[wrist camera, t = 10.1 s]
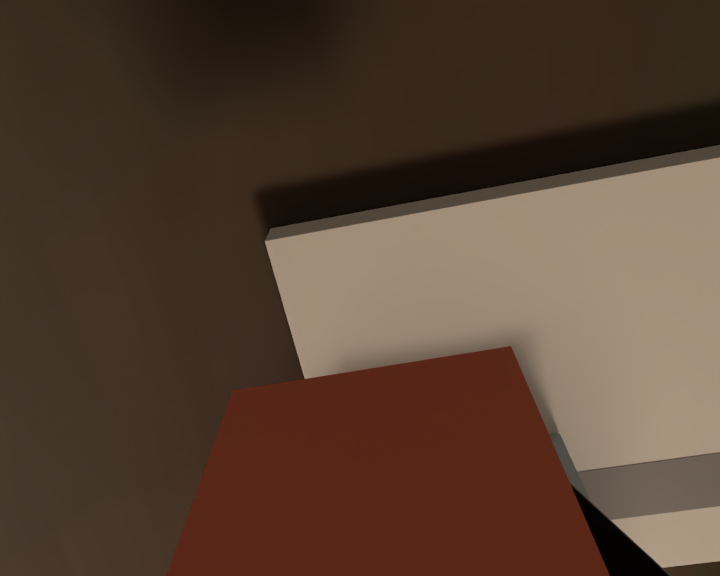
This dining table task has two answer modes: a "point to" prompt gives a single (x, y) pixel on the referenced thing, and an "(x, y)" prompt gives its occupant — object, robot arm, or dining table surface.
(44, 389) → the dining table surface
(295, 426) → the cap
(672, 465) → the panel
